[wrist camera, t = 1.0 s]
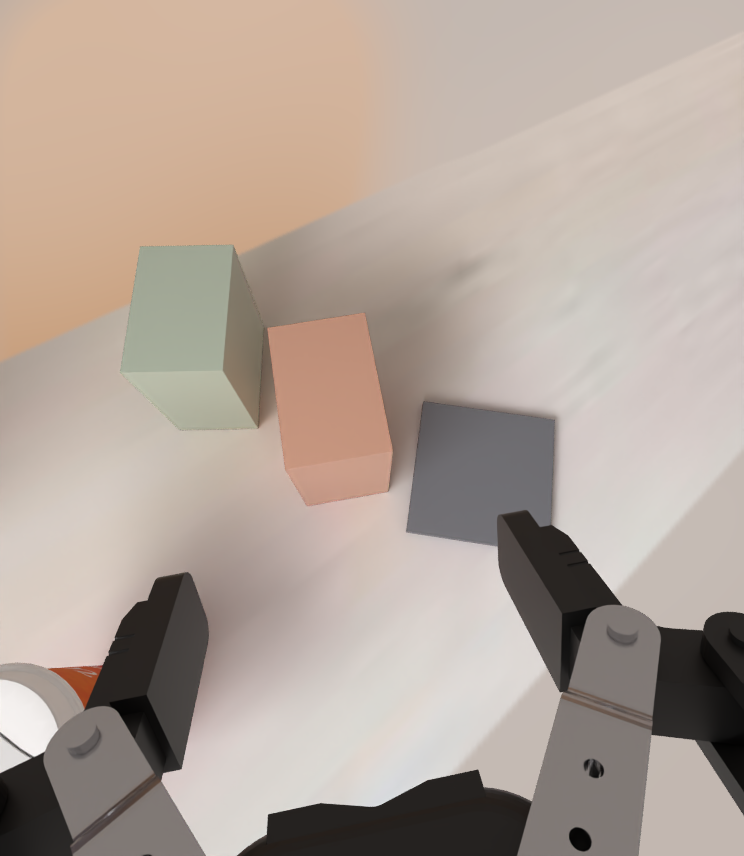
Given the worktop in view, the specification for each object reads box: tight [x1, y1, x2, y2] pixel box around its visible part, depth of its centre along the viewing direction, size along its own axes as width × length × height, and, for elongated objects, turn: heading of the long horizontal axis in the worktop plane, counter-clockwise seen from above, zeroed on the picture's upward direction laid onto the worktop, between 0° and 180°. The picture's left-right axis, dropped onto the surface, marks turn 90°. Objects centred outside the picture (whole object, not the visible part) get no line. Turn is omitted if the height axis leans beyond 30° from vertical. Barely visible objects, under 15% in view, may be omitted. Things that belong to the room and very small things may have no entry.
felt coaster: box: [406, 402, 555, 546], centre depth 38 cm, size 10×10×1 cm
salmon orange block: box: [267, 313, 393, 506], centre depth 35 cm, size 9×6×10 cm, turn 10°
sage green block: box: [120, 245, 264, 430], centre depth 37 cm, size 9×6×10 cm, turn 1°
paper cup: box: [0, 663, 103, 773], centre depth 27 cm, size 8×8×14 cm
